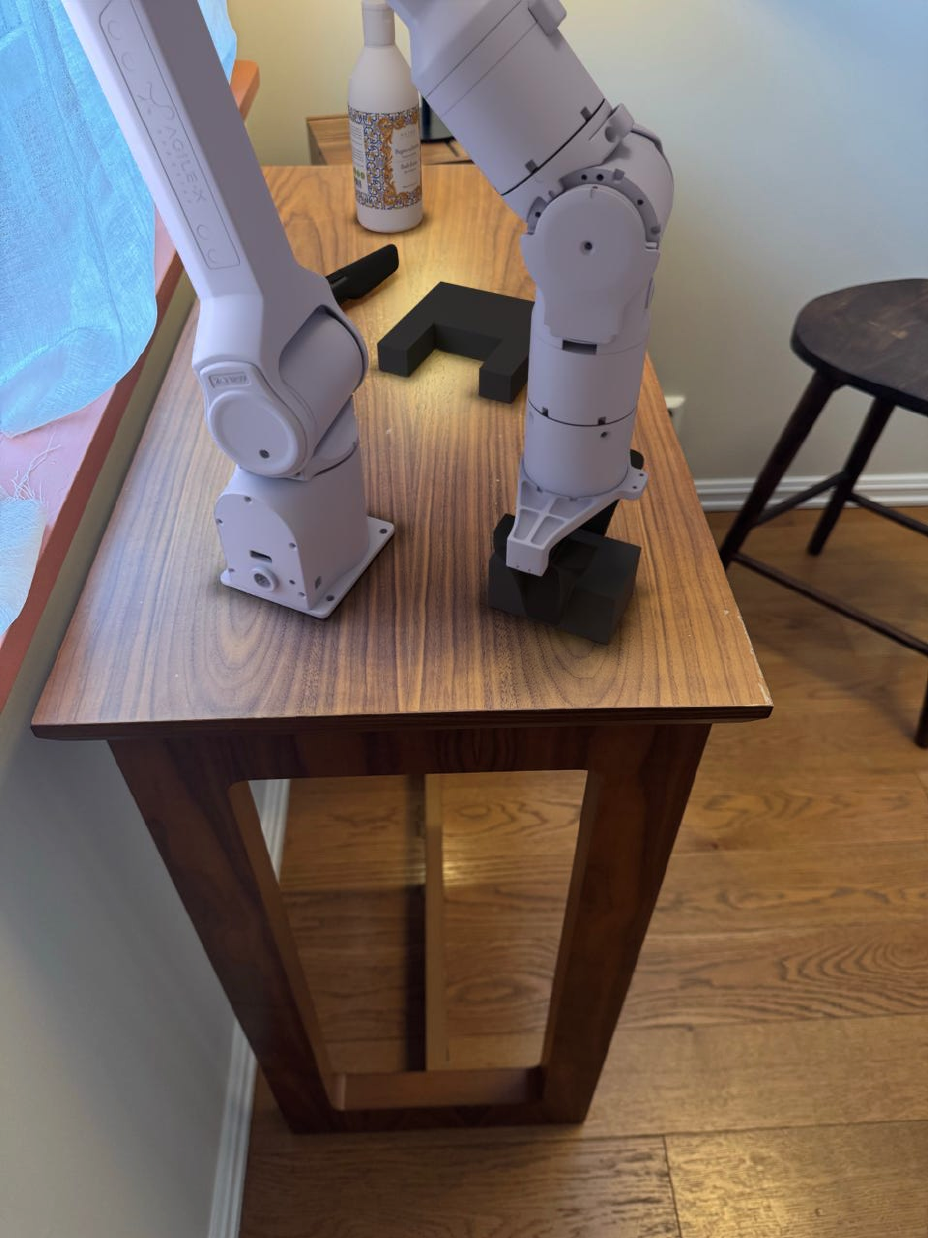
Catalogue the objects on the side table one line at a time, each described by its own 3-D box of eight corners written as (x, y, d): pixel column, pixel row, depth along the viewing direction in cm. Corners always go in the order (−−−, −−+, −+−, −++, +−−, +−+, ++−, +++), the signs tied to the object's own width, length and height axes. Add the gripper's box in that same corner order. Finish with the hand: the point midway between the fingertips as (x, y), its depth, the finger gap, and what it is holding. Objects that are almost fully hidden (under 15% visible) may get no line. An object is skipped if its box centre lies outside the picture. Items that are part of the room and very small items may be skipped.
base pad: (510, 403, 73) (511, 376, 71) (378, 370, 77) (376, 343, 75) (563, 334, 80) (565, 307, 79) (441, 306, 84) (440, 280, 82)
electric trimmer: (410, 279, 88) (409, 247, 86) (296, 343, 79) (291, 309, 77) (381, 268, 90) (379, 236, 87) (266, 330, 81) (260, 296, 79)
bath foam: (387, 240, 93) (372, 12, 79) (344, 220, 97) (323, -3, 82) (436, 220, 97) (431, -2, 82) (393, 201, 100) (381, -16, 86)
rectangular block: (633, 593, 58) (642, 546, 55) (608, 646, 55) (615, 599, 52) (517, 557, 61) (520, 510, 58) (487, 606, 57) (488, 559, 55)
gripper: (611, 496, 41) (583, 686, 51) (695, 345, 50) (658, 531, 60) (469, 456, 43) (469, 647, 53) (575, 318, 52) (558, 503, 62)
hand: (562, 583), depth 57 cm, fingers open, 6 cm apart
